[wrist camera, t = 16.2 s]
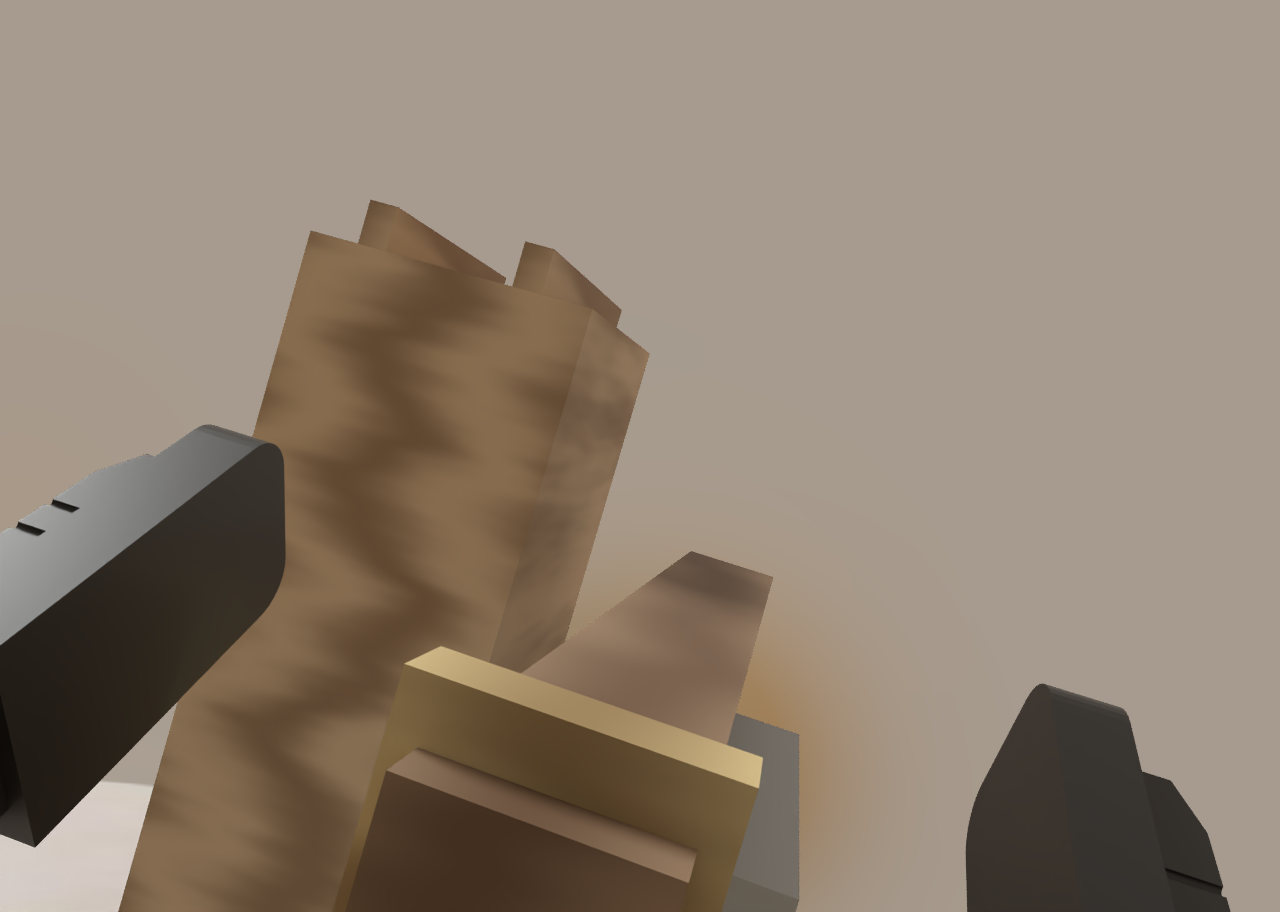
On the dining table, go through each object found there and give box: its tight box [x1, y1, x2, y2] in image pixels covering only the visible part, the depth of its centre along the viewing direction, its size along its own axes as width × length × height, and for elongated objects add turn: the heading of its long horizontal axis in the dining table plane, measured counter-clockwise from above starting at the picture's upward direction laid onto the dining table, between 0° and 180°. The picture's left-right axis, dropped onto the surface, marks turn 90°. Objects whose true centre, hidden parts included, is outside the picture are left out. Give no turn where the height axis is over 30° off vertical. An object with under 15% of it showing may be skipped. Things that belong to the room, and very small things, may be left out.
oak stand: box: [119, 200, 649, 912], centre depth 38 cm, size 10×12×34 cm
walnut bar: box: [333, 551, 773, 912], centre depth 25 cm, size 4×30×4 cm, turn 170°
